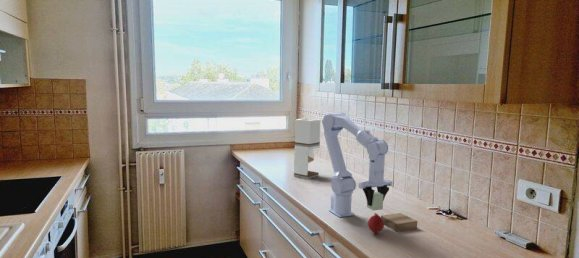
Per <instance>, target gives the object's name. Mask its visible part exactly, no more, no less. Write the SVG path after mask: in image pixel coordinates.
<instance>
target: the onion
mask: <svg viewBox="0 0 579 258" xmlns="http://www.w3.org/2000/svg"><path fill="white" fill-rule="evenodd" d="M384 226H385V225H384V222H383V220H382V218H381V215H379V214H378V213H376V212H375V213H374V215H372V216H371V217H370V218H369V219H368V222H367V227H368V229H369V230H370V231H371V232H372V233H373V234H374V235H376V234H379V233H380V232H382V231H383V230H384Z"/></svg>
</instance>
